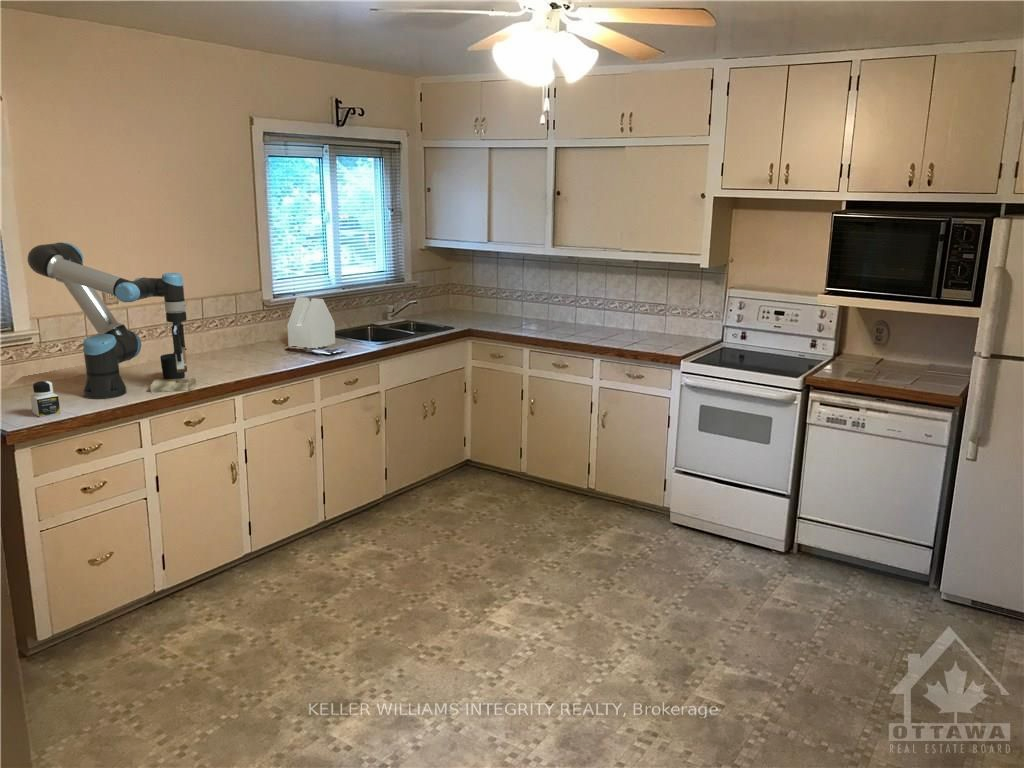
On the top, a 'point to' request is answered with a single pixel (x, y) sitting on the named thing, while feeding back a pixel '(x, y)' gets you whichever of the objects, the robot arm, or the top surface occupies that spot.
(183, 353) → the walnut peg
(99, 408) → the top surface
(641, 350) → the top surface
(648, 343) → the top surface
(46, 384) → the medicine bottle
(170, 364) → the pen holder
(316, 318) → the white notched tapered block
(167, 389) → the mottled green flat block
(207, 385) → the top surface
